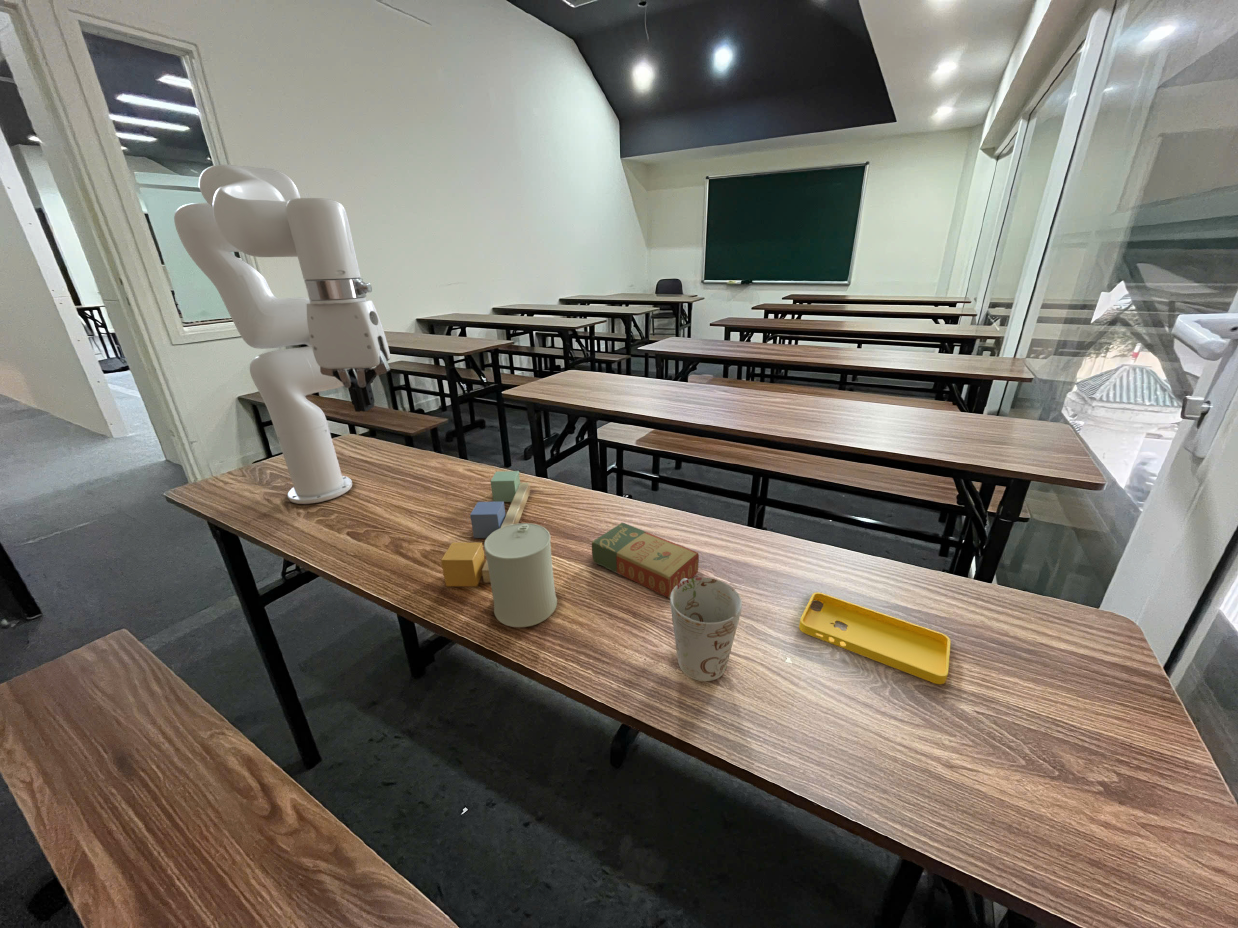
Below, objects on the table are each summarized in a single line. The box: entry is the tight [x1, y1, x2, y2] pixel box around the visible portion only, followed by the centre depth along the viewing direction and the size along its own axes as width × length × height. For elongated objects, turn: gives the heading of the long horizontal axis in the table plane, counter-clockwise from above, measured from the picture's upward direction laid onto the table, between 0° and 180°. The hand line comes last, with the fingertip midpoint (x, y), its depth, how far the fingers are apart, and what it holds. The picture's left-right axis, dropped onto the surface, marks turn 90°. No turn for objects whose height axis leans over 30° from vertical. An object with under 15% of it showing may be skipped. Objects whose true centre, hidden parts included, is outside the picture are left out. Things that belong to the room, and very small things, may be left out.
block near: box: [440, 542, 486, 587], centre depth 77 cm, size 5×5×5 cm
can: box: [483, 522, 558, 628], centre depth 69 cm, size 9×9×12 cm
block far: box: [490, 470, 521, 503], centre depth 103 cm, size 5×5×5 cm
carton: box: [591, 522, 700, 599], centre depth 78 cm, size 8×16×4 cm, turn 50°
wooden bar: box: [482, 482, 531, 584], centre depth 91 cm, size 32×2×2 cm, turn 0°
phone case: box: [798, 591, 952, 685], centre depth 63 cm, size 8×17×1 cm, turn 55°
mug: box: [669, 577, 743, 682], centre depth 60 cm, size 8×13×10 cm, turn 16°
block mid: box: [469, 501, 506, 539], centre depth 90 cm, size 5×5×5 cm
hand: (365, 409), depth 79 cm, fingers closed
